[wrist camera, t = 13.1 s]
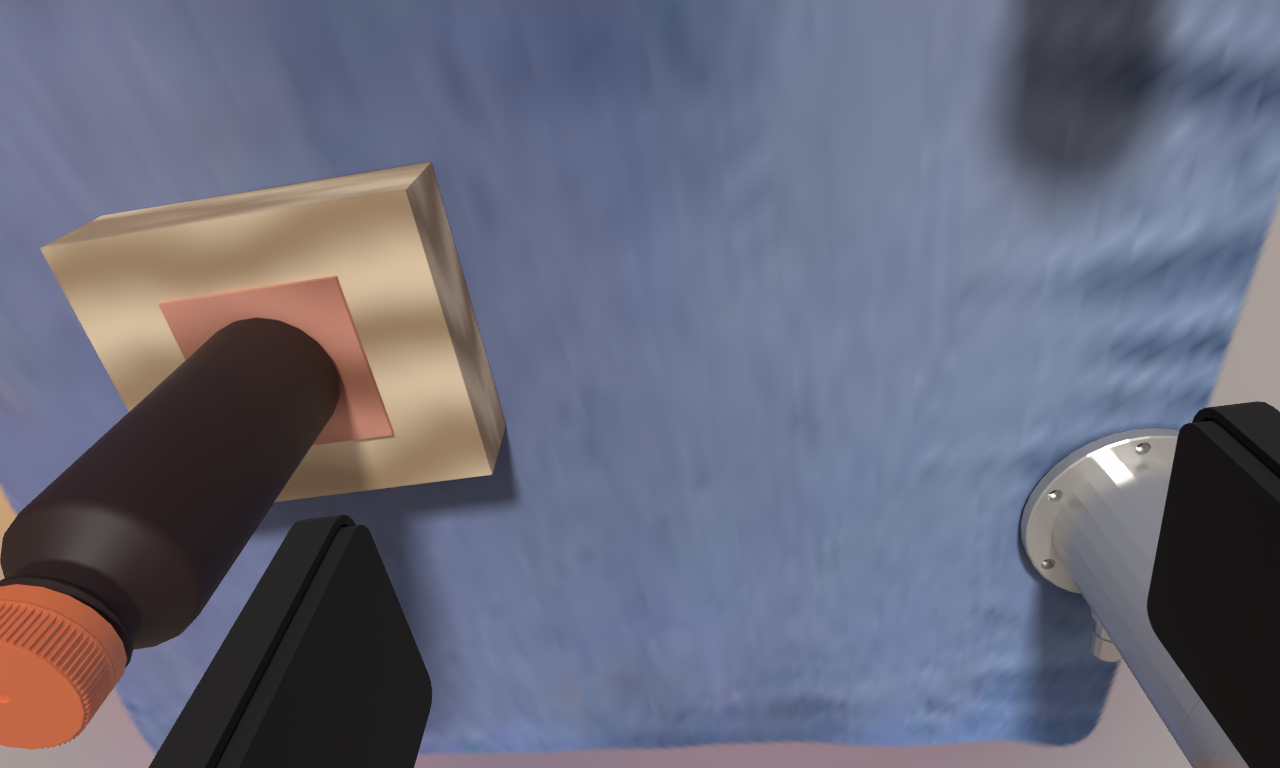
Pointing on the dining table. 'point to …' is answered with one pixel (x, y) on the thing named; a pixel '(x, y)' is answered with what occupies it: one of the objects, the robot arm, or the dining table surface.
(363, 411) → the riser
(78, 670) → the vinegar
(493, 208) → the dining table surface
